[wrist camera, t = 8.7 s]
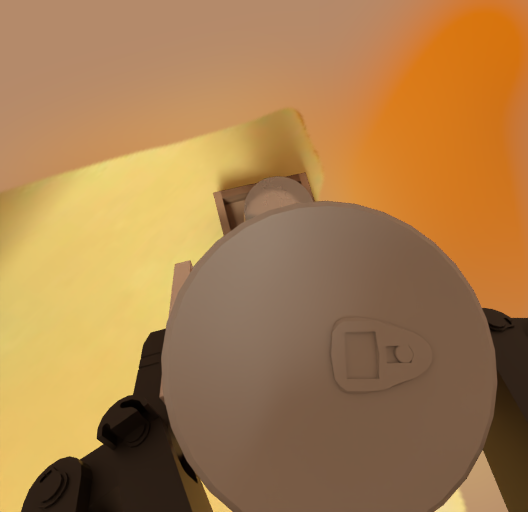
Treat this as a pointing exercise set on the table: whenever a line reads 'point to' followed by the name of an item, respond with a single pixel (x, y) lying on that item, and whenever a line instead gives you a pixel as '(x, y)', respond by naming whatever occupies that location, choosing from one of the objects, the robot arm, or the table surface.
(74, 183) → the table surface
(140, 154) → the table surface
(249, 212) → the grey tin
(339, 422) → the canned food
